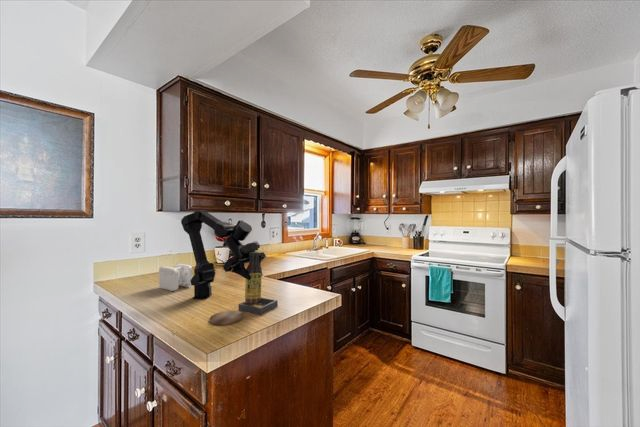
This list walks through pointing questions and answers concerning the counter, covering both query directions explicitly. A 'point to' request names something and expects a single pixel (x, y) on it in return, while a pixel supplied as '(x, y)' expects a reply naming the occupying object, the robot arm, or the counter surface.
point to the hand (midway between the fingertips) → (256, 277)
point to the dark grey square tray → (256, 310)
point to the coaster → (226, 317)
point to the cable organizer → (175, 276)
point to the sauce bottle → (253, 279)
